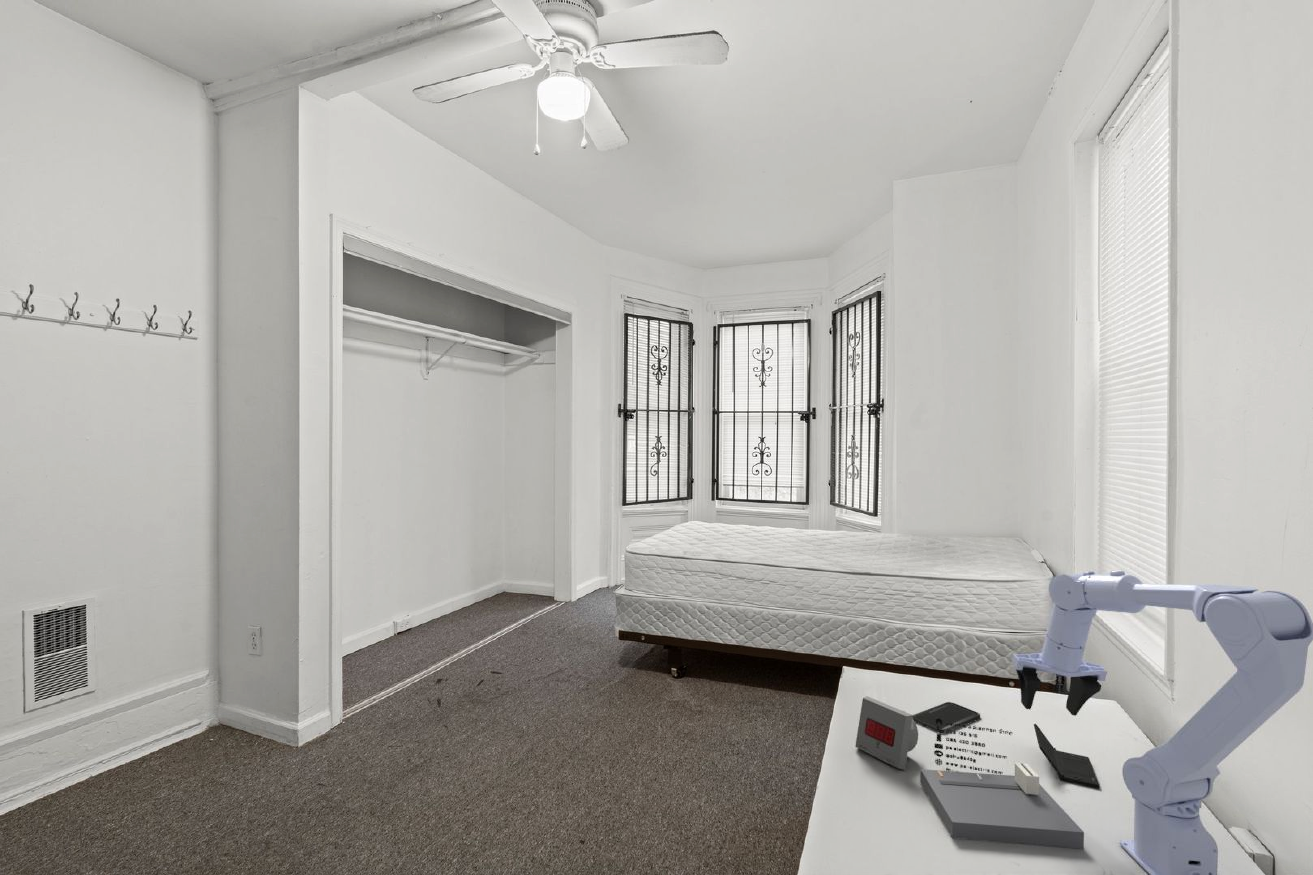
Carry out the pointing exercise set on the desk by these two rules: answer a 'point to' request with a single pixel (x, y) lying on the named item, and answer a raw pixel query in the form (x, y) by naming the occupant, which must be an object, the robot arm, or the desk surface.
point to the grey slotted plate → (998, 810)
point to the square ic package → (946, 717)
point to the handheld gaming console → (1068, 763)
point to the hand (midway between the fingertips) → (1048, 708)
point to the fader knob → (1026, 778)
